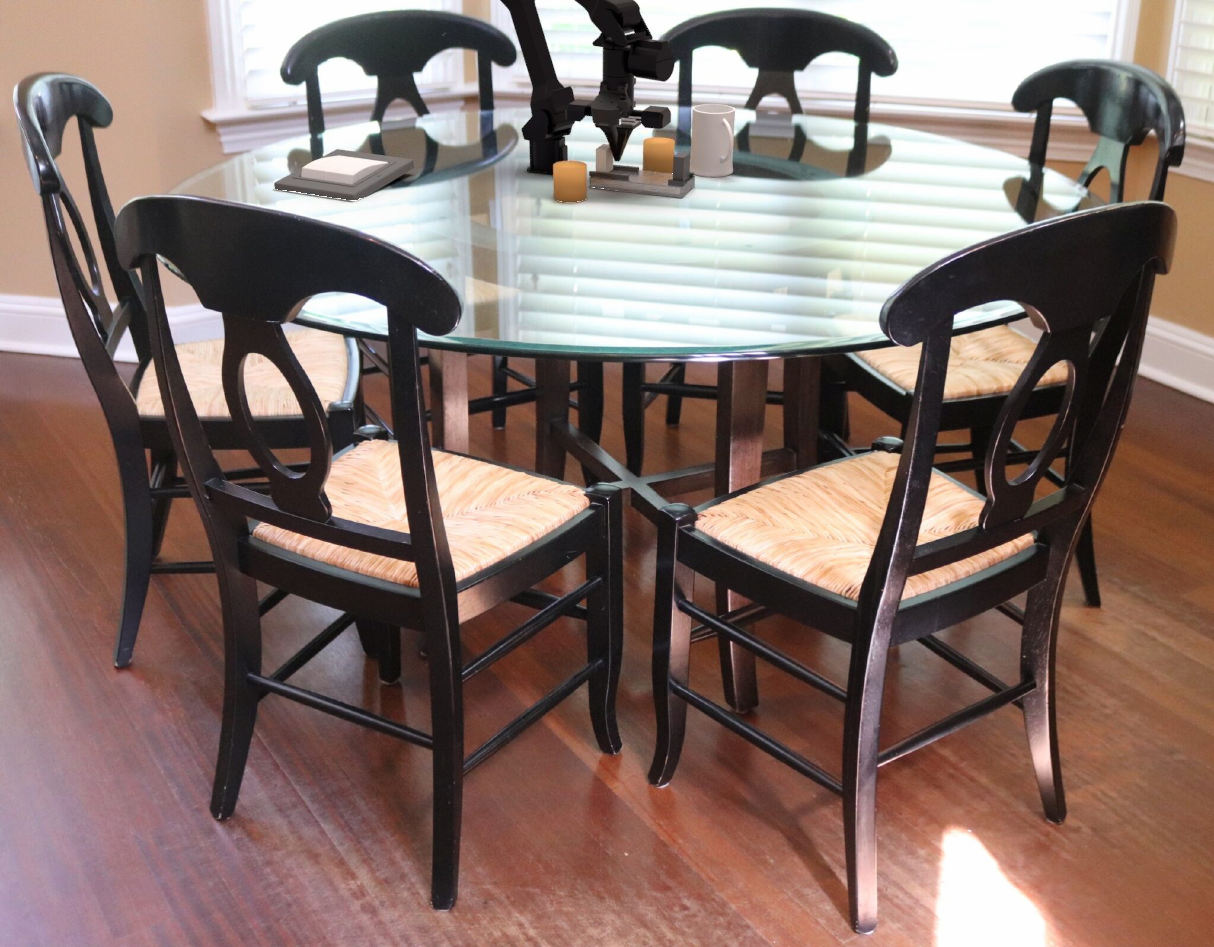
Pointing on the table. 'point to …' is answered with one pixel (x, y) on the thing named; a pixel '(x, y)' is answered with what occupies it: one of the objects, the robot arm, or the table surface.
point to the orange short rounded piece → (658, 154)
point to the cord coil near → (570, 181)
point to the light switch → (345, 174)
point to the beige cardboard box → (604, 158)
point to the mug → (712, 140)
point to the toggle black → (681, 166)
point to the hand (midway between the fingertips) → (617, 161)
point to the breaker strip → (641, 181)
